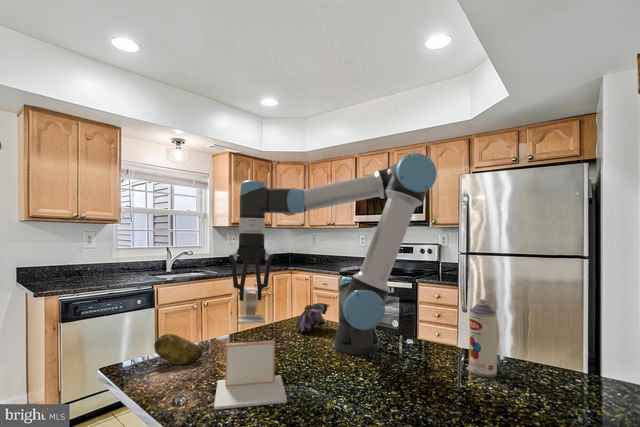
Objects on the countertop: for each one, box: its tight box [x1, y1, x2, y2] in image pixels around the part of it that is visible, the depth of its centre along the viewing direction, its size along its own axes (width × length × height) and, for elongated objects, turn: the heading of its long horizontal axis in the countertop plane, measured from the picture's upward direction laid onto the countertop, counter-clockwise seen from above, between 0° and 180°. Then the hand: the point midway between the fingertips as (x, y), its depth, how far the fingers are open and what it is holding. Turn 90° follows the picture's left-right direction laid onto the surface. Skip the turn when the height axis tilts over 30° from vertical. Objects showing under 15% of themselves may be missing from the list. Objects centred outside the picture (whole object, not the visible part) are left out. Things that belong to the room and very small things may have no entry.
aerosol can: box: [468, 298, 498, 378], centre depth 100 cm, size 7×7×20 cm
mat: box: [213, 374, 288, 411], centre depth 87 cm, size 16×14×1 cm
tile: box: [224, 340, 276, 387], centre depth 90 cm, size 12×2×10 cm, turn 102°
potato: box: [153, 333, 203, 366], centre depth 105 cm, size 8×13×8 cm, turn 76°
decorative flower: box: [296, 302, 331, 334], centre depth 140 cm, size 15×12×15 cm
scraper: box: [237, 286, 266, 325], centre depth 105 cm, size 19×7×6 cm, turn 13°
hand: (250, 311), depth 107 cm, fingers closed on scraper, 3 cm apart
